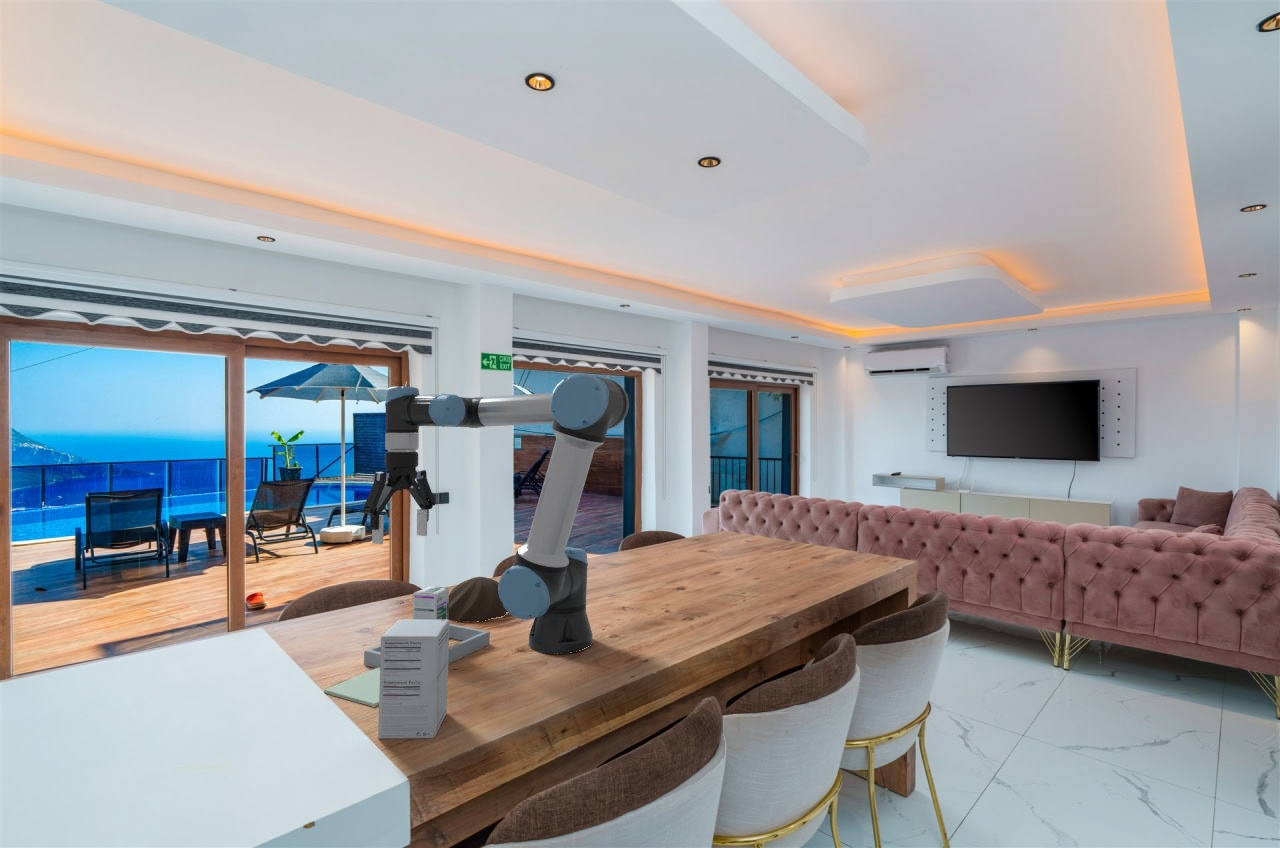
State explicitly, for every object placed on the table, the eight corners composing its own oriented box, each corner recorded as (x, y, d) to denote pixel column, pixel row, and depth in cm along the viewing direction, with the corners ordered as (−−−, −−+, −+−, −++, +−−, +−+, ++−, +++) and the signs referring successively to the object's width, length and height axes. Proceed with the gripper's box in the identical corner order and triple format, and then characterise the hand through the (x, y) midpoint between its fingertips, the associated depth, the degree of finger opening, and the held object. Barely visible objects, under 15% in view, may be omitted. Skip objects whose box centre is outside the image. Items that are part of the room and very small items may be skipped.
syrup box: (435, 659, 135) (437, 593, 135) (410, 657, 136) (413, 591, 137) (448, 651, 141) (450, 587, 141) (424, 648, 142) (426, 585, 142)
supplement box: (394, 713, 109) (397, 618, 110) (447, 712, 110) (450, 618, 110) (376, 740, 100) (379, 635, 100) (434, 739, 100) (437, 635, 101)
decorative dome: (509, 601, 184) (509, 567, 184) (516, 620, 165) (517, 583, 165) (441, 605, 178) (442, 570, 178) (441, 626, 159) (442, 587, 160)
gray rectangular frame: (489, 644, 146) (489, 631, 146) (417, 678, 125) (417, 663, 125) (440, 634, 152) (440, 622, 152) (363, 664, 131) (364, 650, 131)
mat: (426, 681, 123) (426, 678, 123) (374, 707, 111) (374, 703, 111) (379, 669, 129) (379, 667, 129) (324, 692, 117) (324, 689, 117)
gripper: (428, 450, 161) (427, 531, 161) (346, 451, 139) (345, 546, 138) (450, 450, 158) (449, 533, 157) (370, 452, 135) (368, 548, 135)
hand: (400, 539), depth 148 cm, fingers open, 13 cm apart
